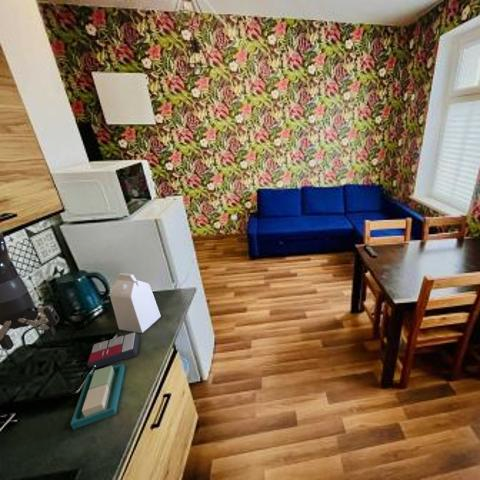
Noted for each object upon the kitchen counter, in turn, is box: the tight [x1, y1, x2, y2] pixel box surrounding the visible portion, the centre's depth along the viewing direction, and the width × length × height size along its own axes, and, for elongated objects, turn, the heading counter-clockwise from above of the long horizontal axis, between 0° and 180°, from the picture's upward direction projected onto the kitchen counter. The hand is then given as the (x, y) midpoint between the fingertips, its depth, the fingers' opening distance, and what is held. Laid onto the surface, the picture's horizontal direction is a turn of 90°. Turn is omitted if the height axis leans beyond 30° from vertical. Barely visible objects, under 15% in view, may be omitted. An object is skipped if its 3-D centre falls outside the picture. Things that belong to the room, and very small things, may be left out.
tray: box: [70, 363, 126, 430], centre depth 90 cm, size 11×20×2 cm, turn 27°
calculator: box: [86, 332, 140, 370], centre depth 106 cm, size 11×4×15 cm
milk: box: [109, 272, 162, 334], centre depth 119 cm, size 12×12×26 cm
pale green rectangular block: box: [89, 365, 115, 391], centre depth 93 cm, size 5×8×4 cm, turn 27°
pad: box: [82, 384, 110, 417], centre depth 86 cm, size 5×8×4 cm, turn 27°
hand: (31, 342), depth 75 cm, fingers open, 8 cm apart
